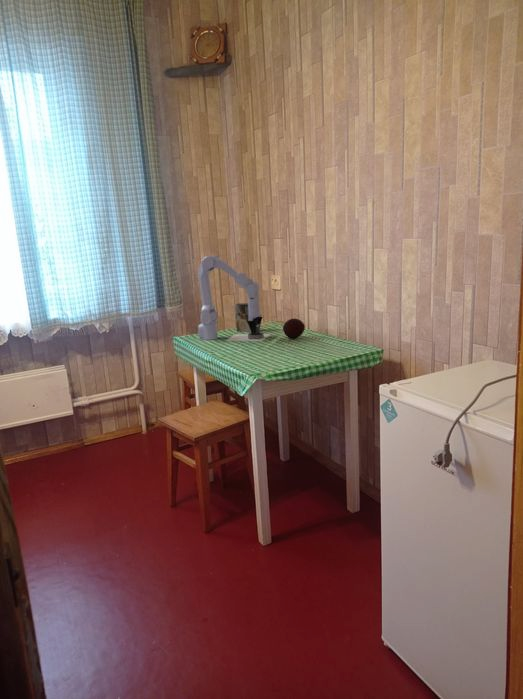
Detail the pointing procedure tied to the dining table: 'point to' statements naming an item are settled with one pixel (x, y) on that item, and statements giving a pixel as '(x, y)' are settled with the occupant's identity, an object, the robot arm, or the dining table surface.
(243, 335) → the mount board
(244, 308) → the coffee box
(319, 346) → the dining table surface
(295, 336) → the coconut
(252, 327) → the robot arm
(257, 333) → the lens
